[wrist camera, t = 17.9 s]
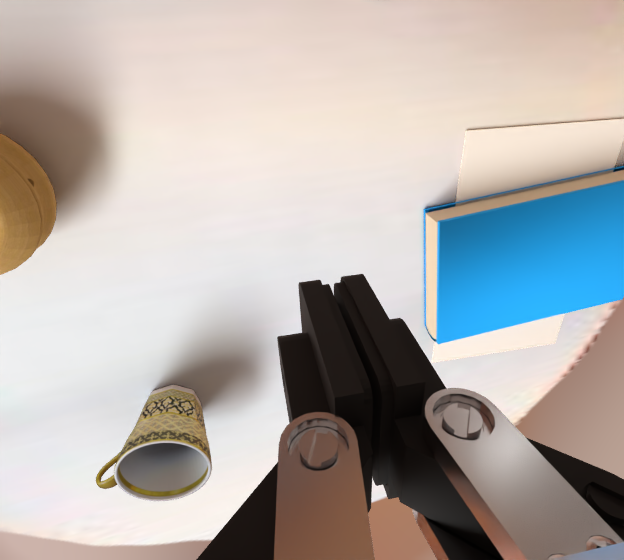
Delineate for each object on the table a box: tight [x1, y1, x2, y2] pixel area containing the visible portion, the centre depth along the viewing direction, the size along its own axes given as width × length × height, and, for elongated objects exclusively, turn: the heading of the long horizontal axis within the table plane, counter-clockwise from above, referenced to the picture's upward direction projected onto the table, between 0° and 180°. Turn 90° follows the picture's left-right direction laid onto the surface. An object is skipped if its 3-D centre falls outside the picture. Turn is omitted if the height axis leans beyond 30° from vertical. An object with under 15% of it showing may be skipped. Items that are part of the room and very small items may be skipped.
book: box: [424, 166, 624, 344], centre depth 49 cm, size 17×4×25 cm
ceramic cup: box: [96, 384, 212, 501], centre depth 49 cm, size 13×10×10 cm
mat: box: [431, 118, 624, 363], centre depth 51 cm, size 31×19×1 cm, turn 2°
